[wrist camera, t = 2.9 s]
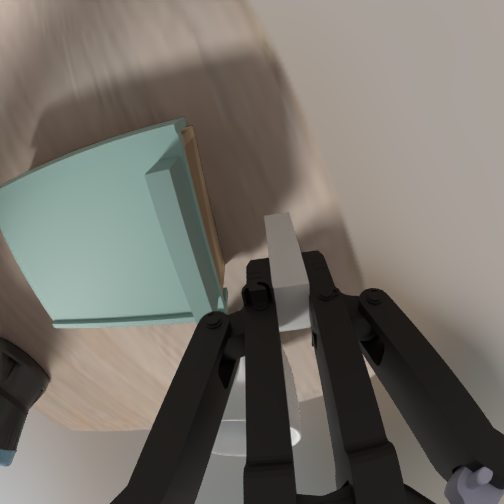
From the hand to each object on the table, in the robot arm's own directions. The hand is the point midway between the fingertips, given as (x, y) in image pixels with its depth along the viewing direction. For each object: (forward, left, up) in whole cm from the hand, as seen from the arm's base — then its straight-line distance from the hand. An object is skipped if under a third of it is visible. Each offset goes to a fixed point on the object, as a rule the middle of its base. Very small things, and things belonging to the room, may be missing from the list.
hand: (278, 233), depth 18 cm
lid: (-14, 0, -4) cm, 15 cm away
